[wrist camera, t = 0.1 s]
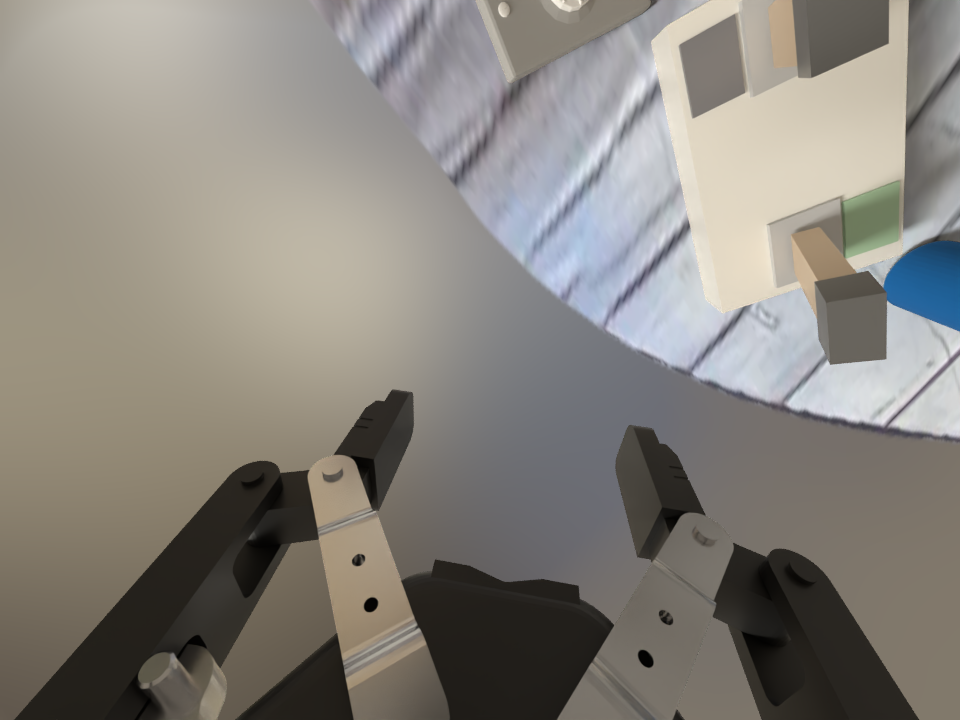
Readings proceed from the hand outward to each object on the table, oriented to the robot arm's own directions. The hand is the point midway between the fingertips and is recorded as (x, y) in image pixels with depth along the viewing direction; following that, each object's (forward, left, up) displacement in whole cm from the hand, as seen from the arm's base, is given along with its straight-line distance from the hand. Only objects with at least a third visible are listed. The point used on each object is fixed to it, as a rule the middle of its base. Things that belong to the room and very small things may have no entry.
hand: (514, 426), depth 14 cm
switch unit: (-11, +20, -29) cm, 37 cm away
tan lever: (-4, +23, -24) cm, 34 cm away
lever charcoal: (-18, +15, -24) cm, 33 cm away
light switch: (-20, 0, -30) cm, 36 cm away
